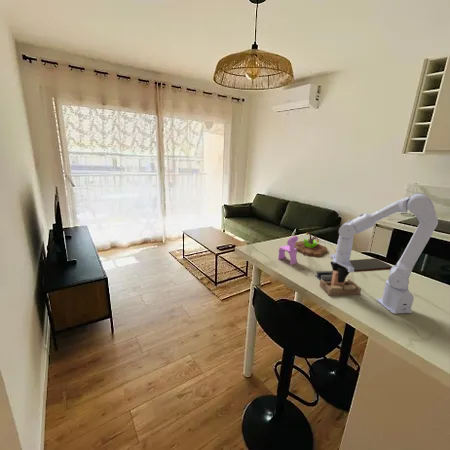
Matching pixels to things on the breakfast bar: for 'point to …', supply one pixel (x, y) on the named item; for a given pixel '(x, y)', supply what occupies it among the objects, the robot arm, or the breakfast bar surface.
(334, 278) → the salmon pink block
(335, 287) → the offcut
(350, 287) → the offcut
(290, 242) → the toy chair
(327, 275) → the stand
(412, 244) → the robot arm
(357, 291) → the brown shallow tray
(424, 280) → the breakfast bar surface
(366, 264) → the dark rectangular slab
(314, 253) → the plant
